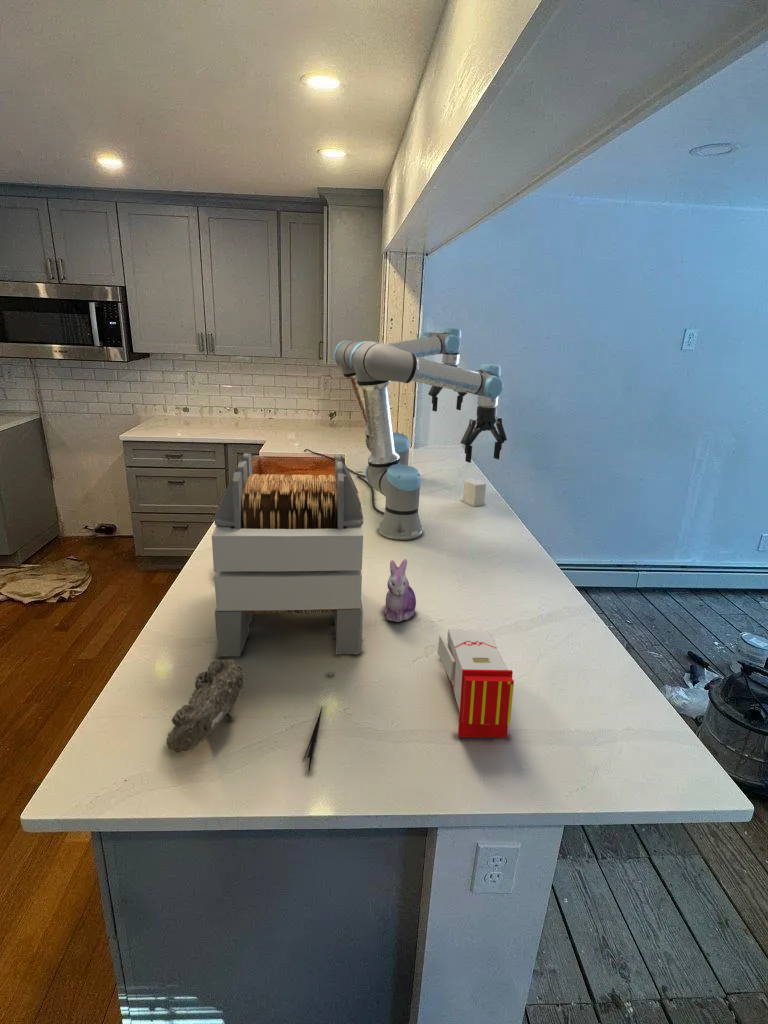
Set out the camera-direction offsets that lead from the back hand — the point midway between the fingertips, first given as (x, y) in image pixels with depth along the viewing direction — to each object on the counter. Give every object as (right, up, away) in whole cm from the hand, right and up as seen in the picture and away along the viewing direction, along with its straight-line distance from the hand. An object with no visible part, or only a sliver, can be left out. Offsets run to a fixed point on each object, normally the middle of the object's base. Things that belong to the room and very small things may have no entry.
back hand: (446, 410), depth 266 cm
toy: (-11, -85, -147) cm, 171 cm away
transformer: (-52, -75, -123) cm, 153 cm away
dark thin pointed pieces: (-42, -87, -157) cm, 185 cm away
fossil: (-62, -87, -158) cm, 191 cm away
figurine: (-25, -74, -119) cm, 142 cm away
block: (+8, -44, -30) cm, 54 cm away
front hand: (+9, -27, -43) cm, 52 cm away
